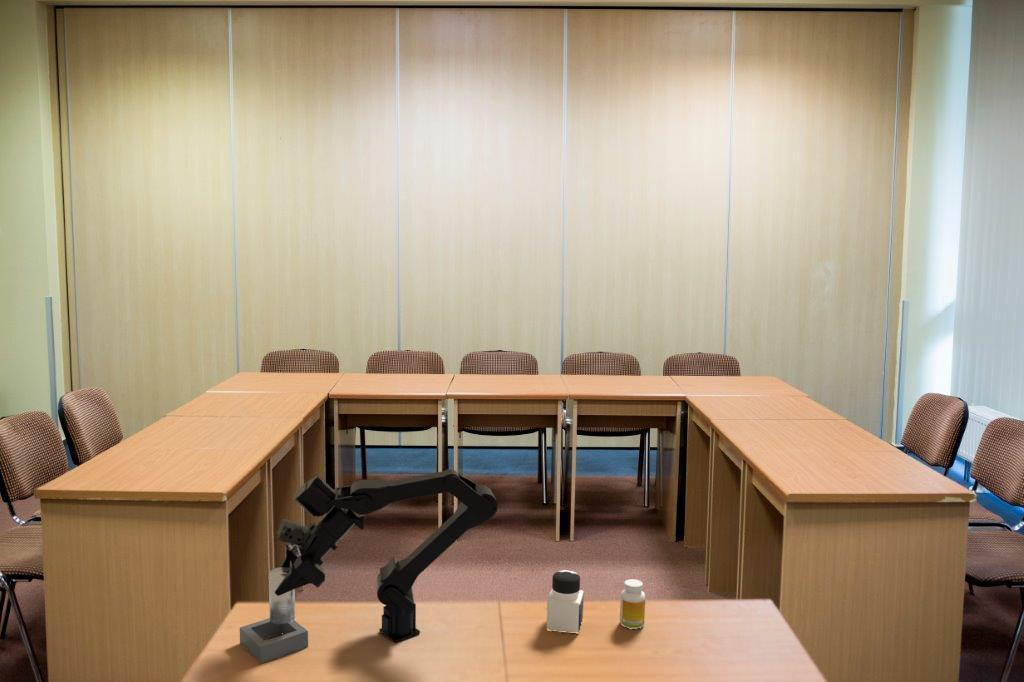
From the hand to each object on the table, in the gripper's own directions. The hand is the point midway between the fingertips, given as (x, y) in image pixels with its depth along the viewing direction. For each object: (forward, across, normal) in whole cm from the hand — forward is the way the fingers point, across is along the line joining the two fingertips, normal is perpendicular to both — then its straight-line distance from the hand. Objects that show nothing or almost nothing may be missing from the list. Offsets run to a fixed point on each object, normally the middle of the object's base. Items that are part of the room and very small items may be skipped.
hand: (274, 588), depth 168 cm
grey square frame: (+9, -1, +9) cm, 13 cm away
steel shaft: (+4, 0, +6) cm, 7 cm away
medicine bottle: (-34, +12, +52) cm, 63 cm away
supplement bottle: (-44, +16, +62) cm, 77 cm away
